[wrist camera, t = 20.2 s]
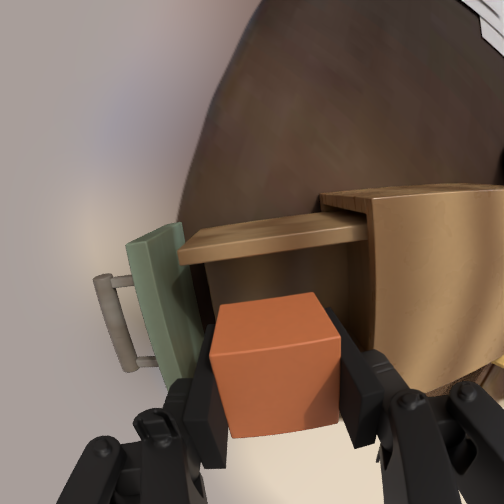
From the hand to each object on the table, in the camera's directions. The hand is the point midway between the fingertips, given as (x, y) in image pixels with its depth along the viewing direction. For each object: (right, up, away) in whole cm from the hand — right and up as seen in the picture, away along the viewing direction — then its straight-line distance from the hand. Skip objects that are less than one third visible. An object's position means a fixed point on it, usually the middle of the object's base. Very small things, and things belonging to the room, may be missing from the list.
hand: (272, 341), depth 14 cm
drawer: (-2, +2, +8) cm, 8 cm away
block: (0, 0, 0) cm, 0 cm away
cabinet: (+12, +4, +9) cm, 15 cm away
